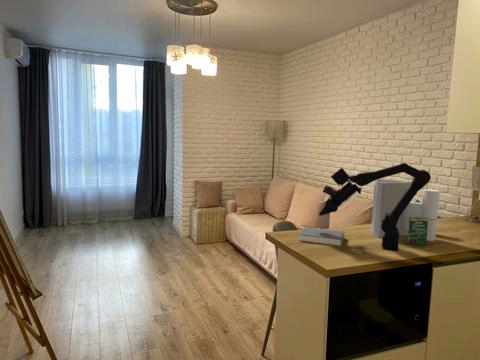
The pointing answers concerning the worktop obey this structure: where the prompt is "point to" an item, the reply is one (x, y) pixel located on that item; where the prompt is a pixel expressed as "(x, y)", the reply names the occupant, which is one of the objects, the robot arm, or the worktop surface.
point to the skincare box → (414, 211)
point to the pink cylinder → (322, 216)
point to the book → (322, 236)
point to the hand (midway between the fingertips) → (320, 213)
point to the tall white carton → (388, 204)
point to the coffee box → (417, 230)
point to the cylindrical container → (430, 211)
